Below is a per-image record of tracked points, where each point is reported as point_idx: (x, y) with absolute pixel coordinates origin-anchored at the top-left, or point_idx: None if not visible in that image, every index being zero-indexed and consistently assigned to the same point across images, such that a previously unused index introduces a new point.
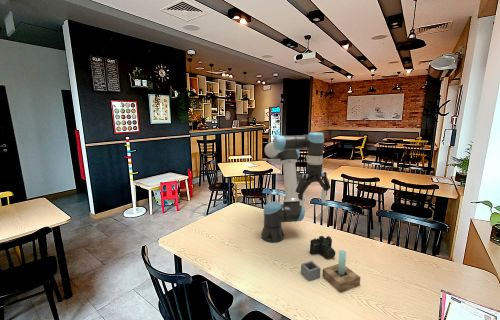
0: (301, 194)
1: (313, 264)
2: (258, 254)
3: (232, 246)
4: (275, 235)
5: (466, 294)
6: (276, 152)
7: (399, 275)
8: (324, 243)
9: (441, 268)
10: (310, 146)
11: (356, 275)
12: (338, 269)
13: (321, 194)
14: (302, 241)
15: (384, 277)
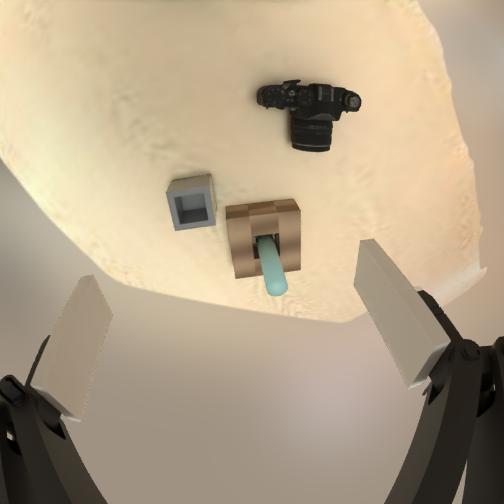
0: (51, 407)
1: (205, 201)
2: (84, 62)
3: (34, 24)
4: None
5: None
6: None
7: (398, 248)
8: (314, 119)
9: (463, 252)
10: None
11: (296, 263)
12: (259, 252)
13: (399, 294)
14: (279, 14)
15: None
